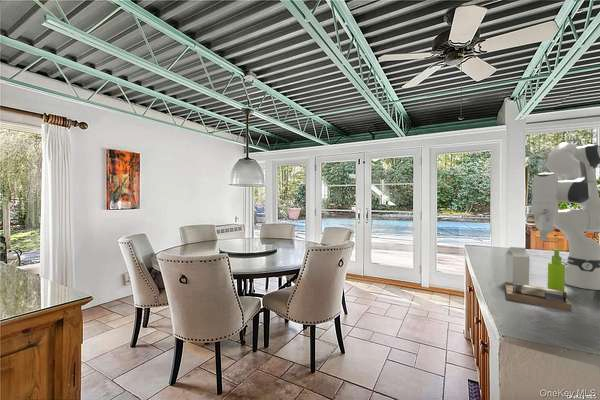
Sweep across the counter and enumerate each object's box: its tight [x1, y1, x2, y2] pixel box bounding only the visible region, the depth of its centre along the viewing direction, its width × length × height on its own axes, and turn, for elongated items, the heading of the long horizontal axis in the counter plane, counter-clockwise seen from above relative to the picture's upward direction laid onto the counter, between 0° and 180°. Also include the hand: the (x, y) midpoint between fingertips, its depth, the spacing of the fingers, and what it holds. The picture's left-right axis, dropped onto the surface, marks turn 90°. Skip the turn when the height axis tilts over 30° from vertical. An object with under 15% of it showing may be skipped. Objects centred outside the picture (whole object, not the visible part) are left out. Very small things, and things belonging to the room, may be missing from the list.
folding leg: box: [513, 283, 568, 300], centre depth 115 cm, size 17×4×3 cm, turn 53°
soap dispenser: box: [547, 248, 569, 292], centre depth 130 cm, size 6×7×20 cm
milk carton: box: [504, 246, 530, 285], centre depth 140 cm, size 7×7×19 cm
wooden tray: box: [504, 282, 573, 312], centre depth 121 cm, size 22×20×6 cm
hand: (543, 240), depth 121 cm, fingers closed
